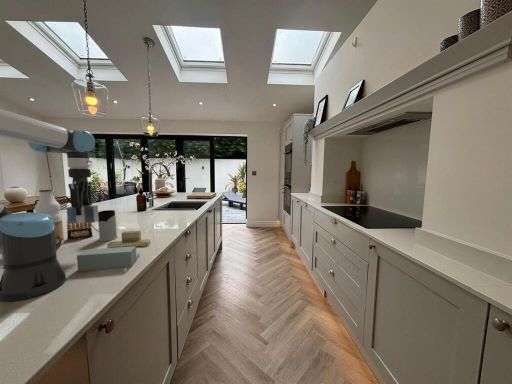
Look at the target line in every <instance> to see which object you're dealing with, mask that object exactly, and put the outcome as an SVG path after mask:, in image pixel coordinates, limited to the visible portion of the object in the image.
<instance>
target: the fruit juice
mask: <svg viewBox="0 0 512 384" xmlns="http://www.w3.org/2000/svg"><path fill="white" fill-rule="evenodd" d="M38 192H39V195H40V196H39V200H38V201H37V203H36V204H35V206H34V212H37V213H45V214H48V215H50V216H51V217H52V219H53V223H54V226H55V228H54V233H55V234H56V235H58V236H60V238H61V245H60V246H62V245H64V243H65V237H64V227H63V226H64V225H63V218H62V214H61V204H60V203H59V202H58V201H57V200H56V198H55V196H54V194H53V193H54V189H53V188H41V189H39V190H38Z"/></svg>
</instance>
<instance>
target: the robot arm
mask: <svg viewBox="0 0 512 384" xmlns="http://www.w3.org/2000/svg"><path fill="white" fill-rule="evenodd" d="M0 137H2V138H6V139H11V140H17V141H21V142H26V143H28V146H29V147H30V149H31V150H32V151H34V152H38V153H39V152H40V153H54V154H66V158H67V167H68V169H67V171H68V172H67V173H68V177H69V178H72V183H68V189H69V196H70V207H71V206H72V208H75V209H76V221H77V223H79V224H80V223H83V224H84V222H85V219H84V207H83V208H82V206H93V198H92V197H93V195H92V182H90V181H89V179H88V178H91V176H92V173H91V172H92V171H91V169H90V168H91V162H92V161H91V159H90V151H92V150H93V149H94V148H95V145H96V141H95V137H94V136H93V134H92V133H90V132H89V131H87V130H79V129H77V130H75V129H74V130H73V129H70V128H66V127H63V126H59V125H56V124H53V123H50V122H46V121H43V120H40V119H36V118H32V117H29V116H26V115H22V114H19V113H16V112H12V111H10V110H6V109H3V108H0ZM54 228H55V226H54V223H53V219H52V217H51V216H50V215H48V214H45V213H37V212H36V211H34V212H29V211H28V212H15V213H11V212H10V211H9V210H8V209H7V208H6V207H5V206H4V204H3V205H2V204H0V255H1V259H2V264H3V265H2V266H3V267H2V268H3V272H2V275H1V277H0V301H2V302H17V301H21V300H22V301H24V300H27V299H31V298H36V297H38V296H41V295H44V294H47V293H50V292H51V291H54V290H55V289H57V288H59V287H61V286H62V285H64V284H65V282H66V281H67V277H66V271H64V269H63V267H62V265H61V264H60V262H59V260H58V257H57V250H56V244H55V233H54Z"/></svg>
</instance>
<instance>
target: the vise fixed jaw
mask: <svg viewBox="0 0 512 384" xmlns="http://www.w3.org/2000/svg"><path fill="white" fill-rule="evenodd" d="M140 257H141V255H140V252H139V251H138V252H137V247H136V246H133V247H119V248H93V249H92V248H90V249H85V250H82V252H80V253H79V254H77V255H76V261H77V262H76V263H77V271H78V272H85V271H97V270H110V269H121V268H132V267H133V266H134V265H135V263H136V262H137V261H138V260H139V258H140Z"/></svg>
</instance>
